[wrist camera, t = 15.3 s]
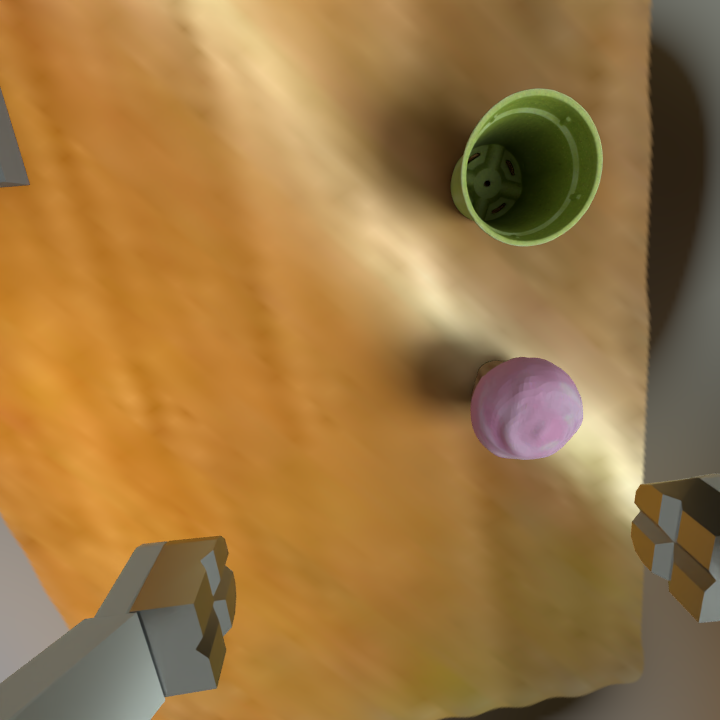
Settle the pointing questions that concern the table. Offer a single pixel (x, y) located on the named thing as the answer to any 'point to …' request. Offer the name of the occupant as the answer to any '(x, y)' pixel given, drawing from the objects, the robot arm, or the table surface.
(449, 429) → the table surface
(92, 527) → the table surface
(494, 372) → the cupcake
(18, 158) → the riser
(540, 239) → the plant pot
